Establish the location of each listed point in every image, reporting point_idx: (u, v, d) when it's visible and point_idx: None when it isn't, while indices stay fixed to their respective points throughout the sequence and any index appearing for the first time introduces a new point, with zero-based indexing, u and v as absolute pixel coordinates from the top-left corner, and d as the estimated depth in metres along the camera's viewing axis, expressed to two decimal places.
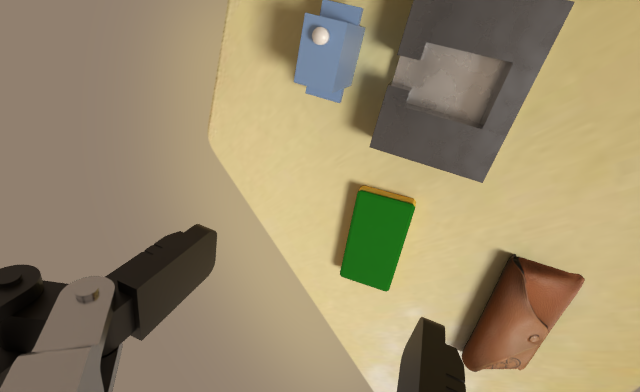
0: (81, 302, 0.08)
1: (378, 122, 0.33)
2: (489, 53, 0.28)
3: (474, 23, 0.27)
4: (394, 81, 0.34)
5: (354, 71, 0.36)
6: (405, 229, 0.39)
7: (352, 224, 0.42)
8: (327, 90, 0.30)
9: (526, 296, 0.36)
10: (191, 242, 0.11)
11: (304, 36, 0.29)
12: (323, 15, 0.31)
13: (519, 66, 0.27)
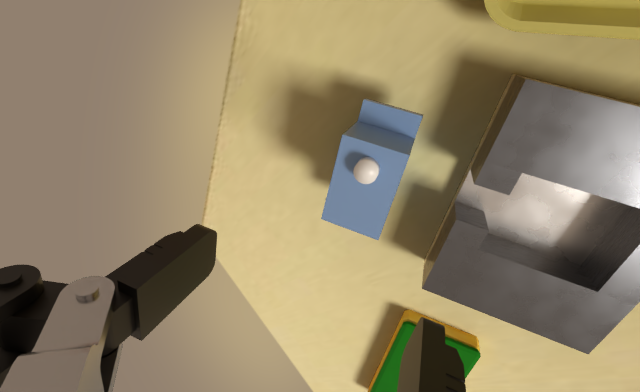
0: (81, 302, 0.08)
1: (437, 262, 0.24)
2: (625, 198, 0.18)
3: (606, 156, 0.18)
4: (458, 200, 0.24)
5: None
6: None
7: (390, 356, 0.32)
8: (371, 236, 0.21)
9: None
10: (191, 242, 0.11)
11: (339, 164, 0.19)
12: (363, 120, 0.22)
13: None
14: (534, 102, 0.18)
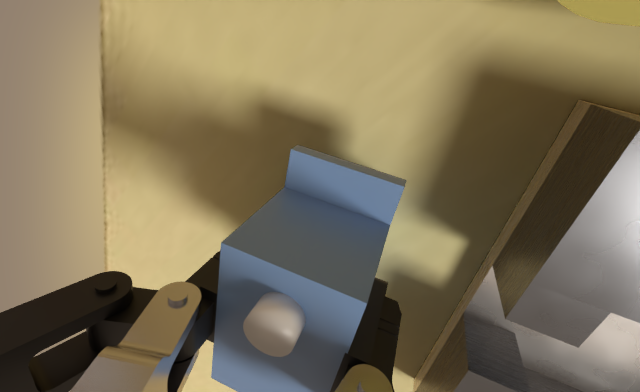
0: (175, 308, 0.08)
1: None
2: None
3: None
4: (469, 312, 0.14)
5: None
6: None
7: None
8: None
9: None
10: None
11: (226, 297, 0.09)
12: (294, 186, 0.12)
13: None
14: None
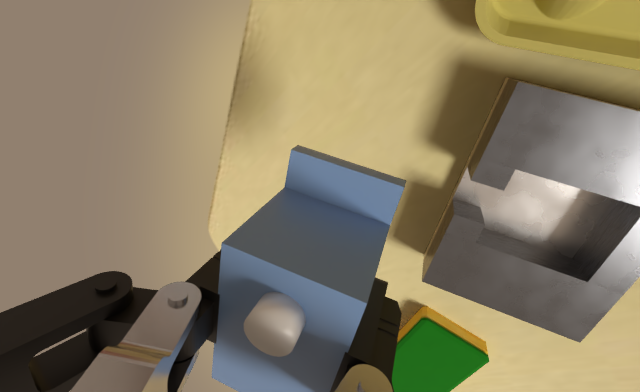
0: (175, 308, 0.08)
1: (436, 255, 0.25)
2: (611, 193, 0.19)
3: (593, 153, 0.19)
4: (456, 197, 0.26)
5: None
6: (465, 376, 0.31)
7: (398, 348, 0.33)
8: None
9: None
10: None
11: (227, 297, 0.09)
12: (294, 186, 0.12)
13: None
14: (526, 103, 0.19)
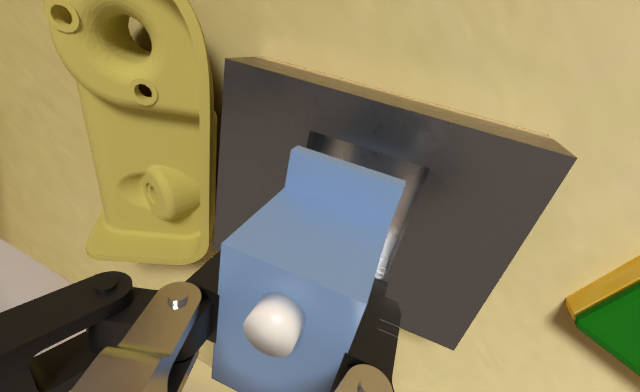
0: (175, 308, 0.08)
1: (406, 328, 0.19)
2: None
3: (259, 189, 0.18)
4: None
5: None
6: None
7: None
8: None
9: None
10: None
11: (226, 298, 0.09)
12: (294, 186, 0.12)
13: (315, 119, 0.15)
14: None
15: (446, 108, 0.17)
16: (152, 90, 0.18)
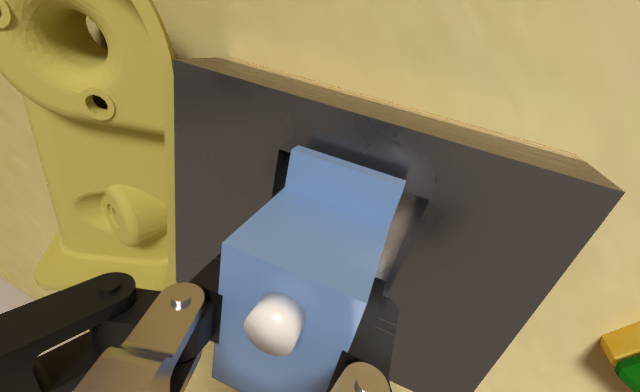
0: (178, 308, 0.08)
1: (401, 383, 0.16)
2: (265, 192, 0.14)
3: (224, 217, 0.15)
4: None
5: None
6: None
7: None
8: None
9: None
10: None
11: (227, 297, 0.09)
12: (294, 186, 0.12)
13: (285, 135, 0.12)
14: (191, 276, 0.18)
15: (449, 121, 0.13)
16: (108, 103, 0.15)
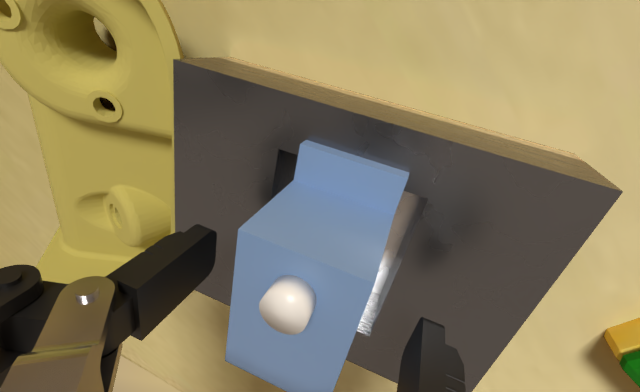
0: (81, 302, 0.08)
1: None
2: (265, 192, 0.14)
3: (223, 217, 0.15)
4: None
5: None
6: None
7: None
8: None
9: None
10: (191, 242, 0.11)
11: (242, 281, 0.10)
12: (303, 179, 0.12)
13: (284, 135, 0.12)
14: None
15: (448, 120, 0.13)
16: (115, 105, 0.15)
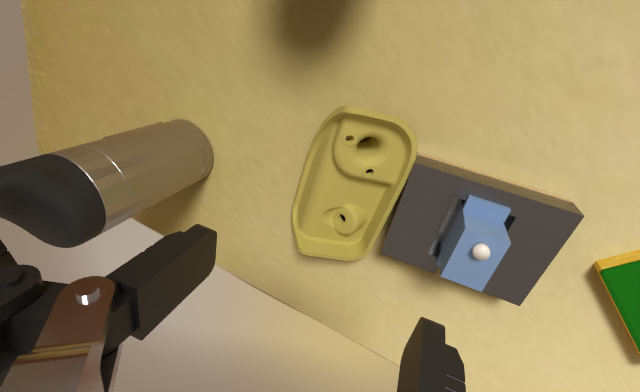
0: (81, 302, 0.08)
1: (494, 294, 0.36)
2: (444, 213, 0.34)
3: (419, 223, 0.35)
4: None
5: None
6: None
7: (621, 308, 0.34)
8: (476, 289, 0.31)
9: None
10: (191, 242, 0.11)
11: (460, 245, 0.30)
12: (467, 209, 0.32)
13: (459, 192, 0.32)
14: (391, 250, 0.38)
15: (519, 184, 0.34)
16: (374, 172, 0.35)
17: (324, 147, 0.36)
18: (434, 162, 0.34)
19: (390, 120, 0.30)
